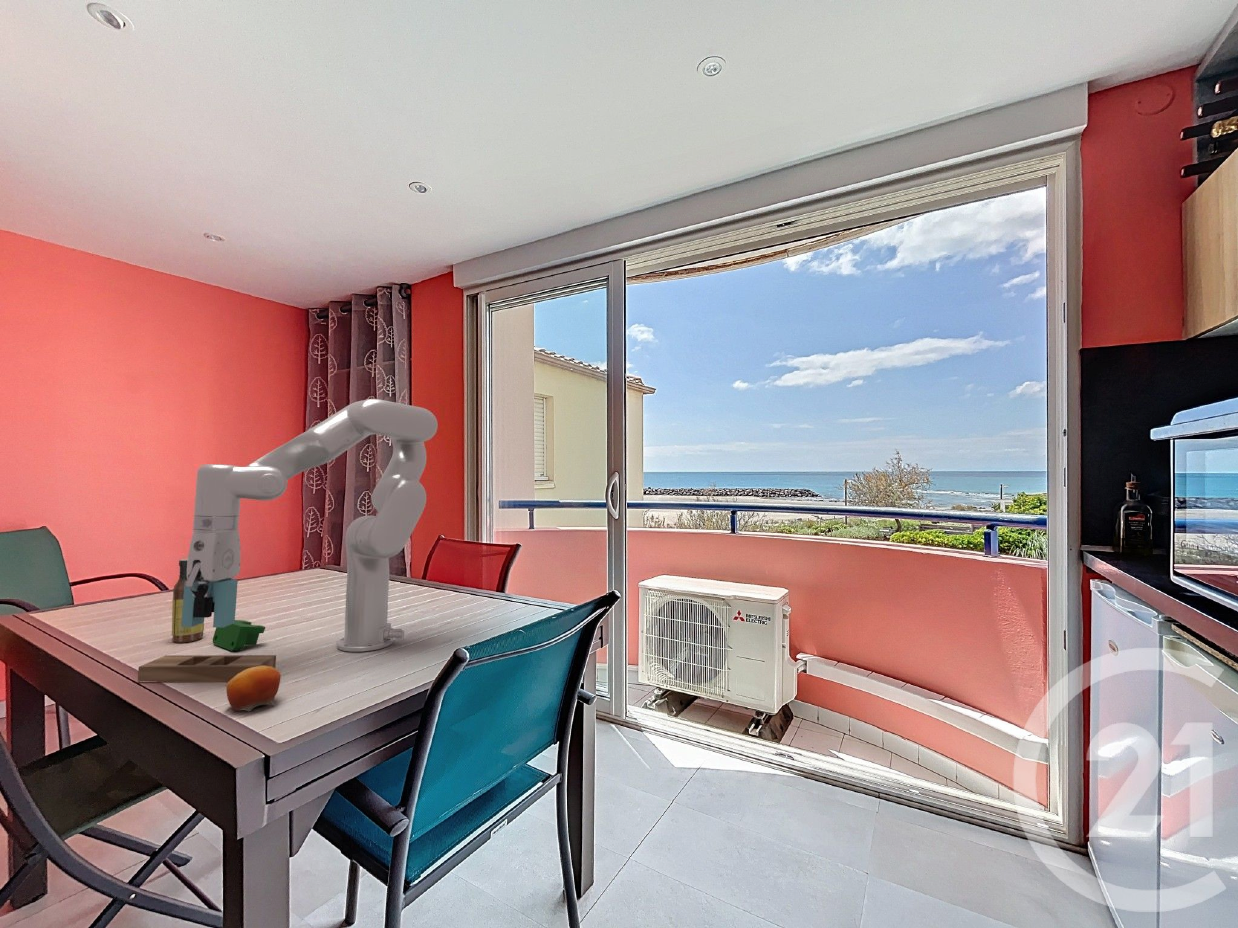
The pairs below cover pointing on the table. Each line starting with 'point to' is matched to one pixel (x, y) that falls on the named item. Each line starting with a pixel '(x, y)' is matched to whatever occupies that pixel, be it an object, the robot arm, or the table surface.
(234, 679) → the fruit
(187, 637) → the sauce bottle
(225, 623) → the clip
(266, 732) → the table surface
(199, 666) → the slotted wooden board
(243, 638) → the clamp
